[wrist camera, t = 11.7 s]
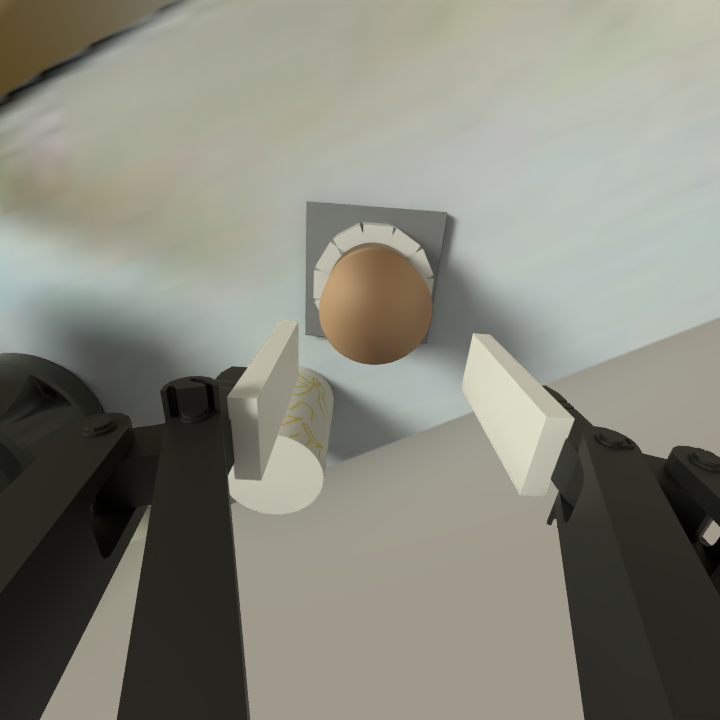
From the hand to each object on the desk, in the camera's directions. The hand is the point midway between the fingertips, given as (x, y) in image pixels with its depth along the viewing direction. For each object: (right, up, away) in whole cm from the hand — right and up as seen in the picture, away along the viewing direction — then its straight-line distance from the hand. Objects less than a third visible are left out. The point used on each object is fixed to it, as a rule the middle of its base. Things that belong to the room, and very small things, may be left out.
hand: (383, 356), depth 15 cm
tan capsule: (0, +7, +16) cm, 18 cm away
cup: (-8, -4, +23) cm, 25 cm away
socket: (0, +8, +17) cm, 19 cm away
